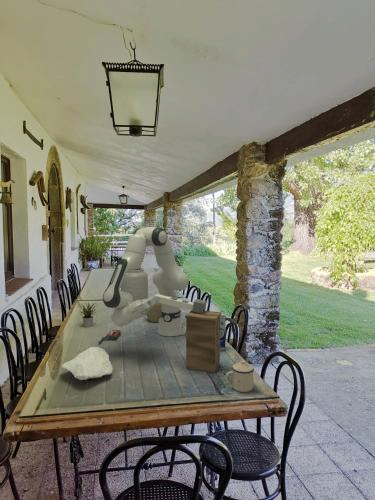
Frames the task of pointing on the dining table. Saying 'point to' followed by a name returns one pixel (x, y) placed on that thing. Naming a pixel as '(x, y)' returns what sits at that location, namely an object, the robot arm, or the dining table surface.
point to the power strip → (183, 303)
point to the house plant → (87, 315)
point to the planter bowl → (154, 313)
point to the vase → (136, 284)
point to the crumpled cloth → (90, 364)
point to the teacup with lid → (242, 376)
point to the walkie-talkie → (111, 336)
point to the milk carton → (222, 332)
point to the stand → (203, 341)
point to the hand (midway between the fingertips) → (160, 297)
